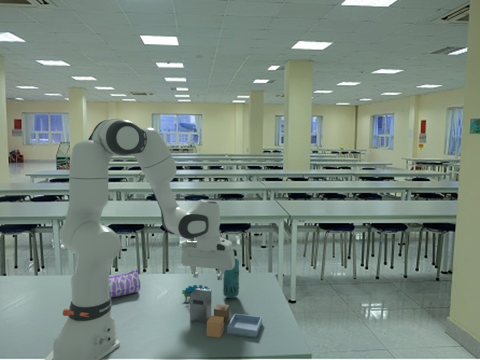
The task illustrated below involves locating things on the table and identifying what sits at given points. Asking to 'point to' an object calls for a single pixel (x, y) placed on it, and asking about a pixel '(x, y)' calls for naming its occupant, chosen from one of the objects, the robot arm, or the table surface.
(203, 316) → the box
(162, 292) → the table surface
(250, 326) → the tray
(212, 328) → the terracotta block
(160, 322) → the table surface
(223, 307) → the walnut block
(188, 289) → the gear
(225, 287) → the beverage bottle
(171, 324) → the table surface
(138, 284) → the pencil case
